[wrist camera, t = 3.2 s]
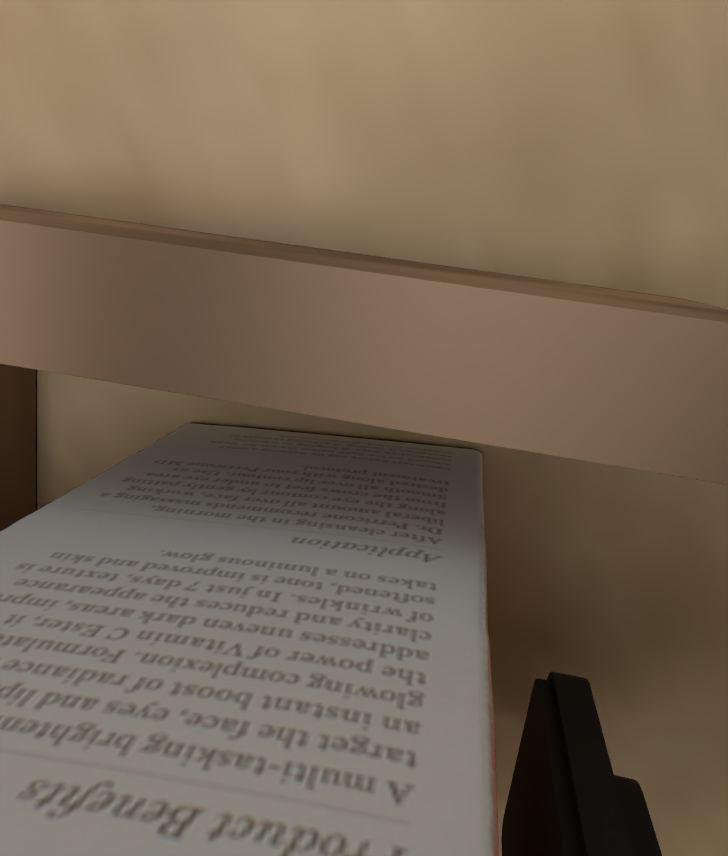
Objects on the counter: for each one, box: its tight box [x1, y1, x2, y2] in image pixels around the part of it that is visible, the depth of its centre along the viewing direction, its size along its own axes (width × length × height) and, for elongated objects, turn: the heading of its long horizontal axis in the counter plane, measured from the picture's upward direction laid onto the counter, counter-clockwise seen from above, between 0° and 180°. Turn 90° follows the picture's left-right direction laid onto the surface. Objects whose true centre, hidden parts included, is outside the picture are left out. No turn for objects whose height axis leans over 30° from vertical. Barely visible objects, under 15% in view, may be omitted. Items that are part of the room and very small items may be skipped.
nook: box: [0, 205, 728, 532], centre depth 11 cm, size 12×14×5 cm
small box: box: [0, 424, 499, 856], centre depth 8 cm, size 8×6×10 cm
